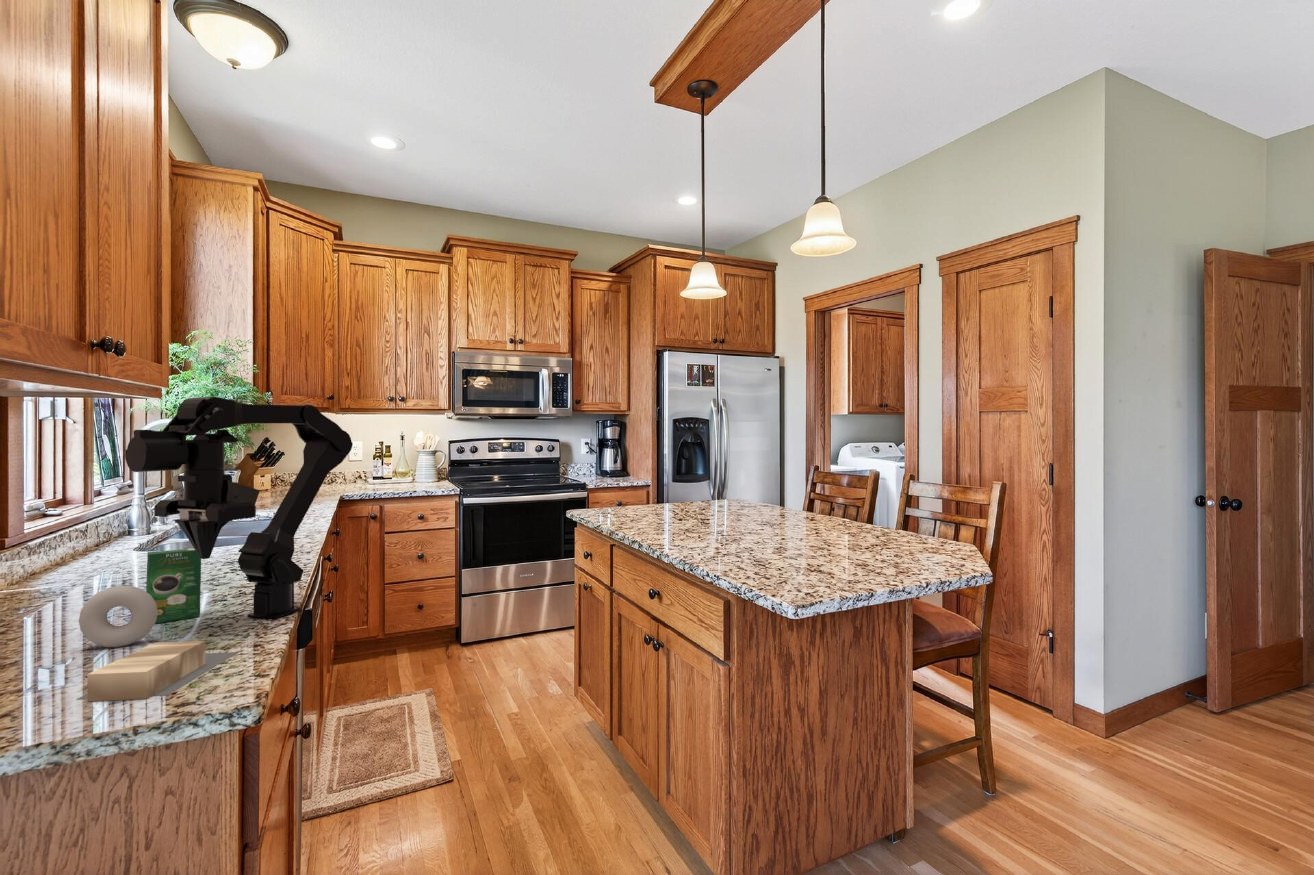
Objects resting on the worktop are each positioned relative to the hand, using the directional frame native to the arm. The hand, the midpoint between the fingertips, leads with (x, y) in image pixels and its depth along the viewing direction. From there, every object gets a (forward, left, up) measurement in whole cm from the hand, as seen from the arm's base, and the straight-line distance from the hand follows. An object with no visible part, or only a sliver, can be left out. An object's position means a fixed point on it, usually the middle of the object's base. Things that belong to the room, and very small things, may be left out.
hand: (205, 558), depth 105 cm
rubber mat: (+17, +11, -13) cm, 24 cm away
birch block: (+14, +10, -11) cm, 20 cm away
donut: (+8, -8, -13) cm, 17 cm away
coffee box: (-6, -13, -13) cm, 20 cm away
